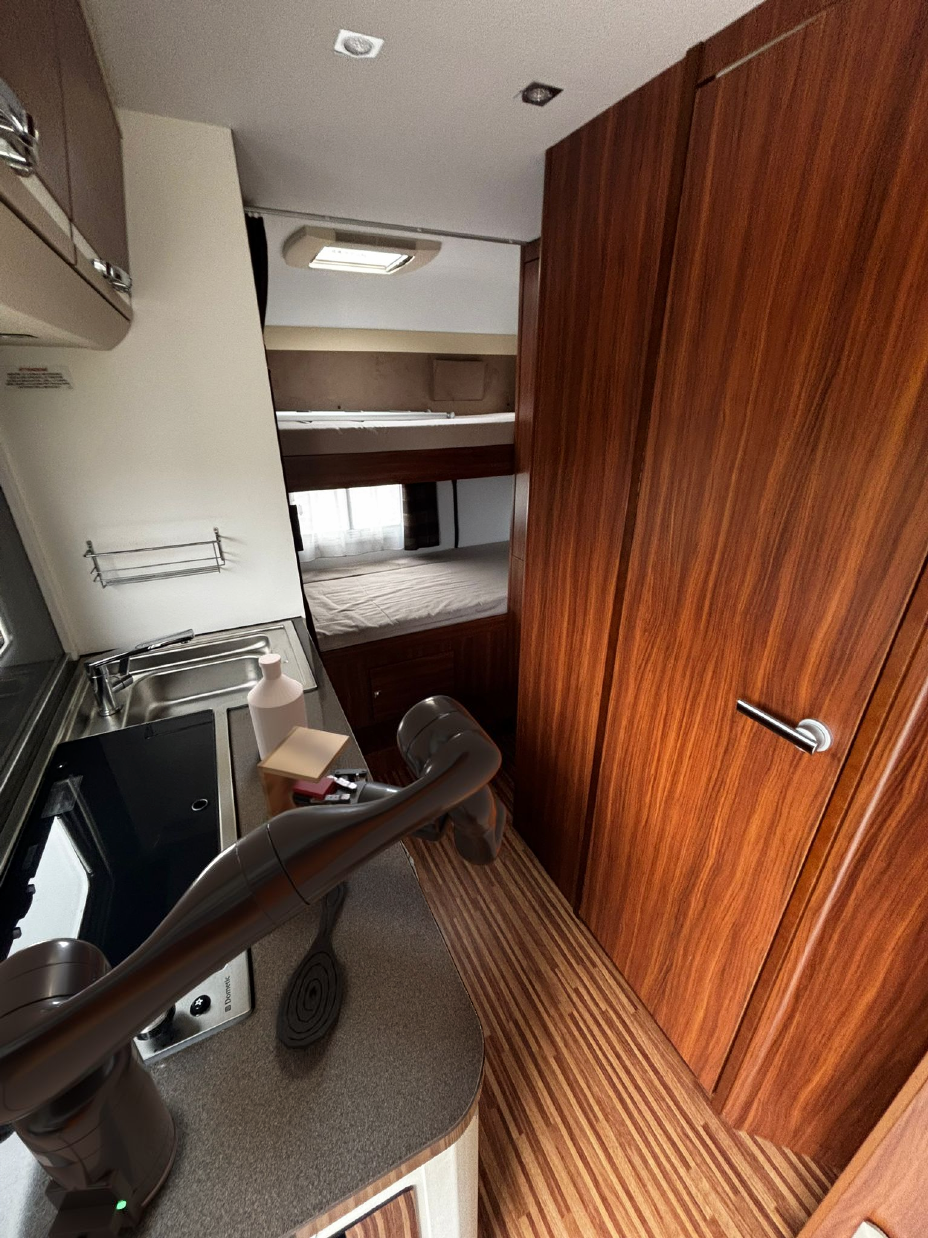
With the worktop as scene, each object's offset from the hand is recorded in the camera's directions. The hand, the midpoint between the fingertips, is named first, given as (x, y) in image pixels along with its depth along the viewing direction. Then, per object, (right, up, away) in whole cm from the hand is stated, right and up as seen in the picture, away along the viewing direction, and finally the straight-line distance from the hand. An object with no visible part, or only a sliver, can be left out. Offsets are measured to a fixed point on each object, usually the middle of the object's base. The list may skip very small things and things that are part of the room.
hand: (301, 788), depth 88 cm
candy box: (+3, -8, +3) cm, 8 cm away
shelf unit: (+2, -12, +5) cm, 13 cm away
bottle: (-13, -1, +29) cm, 32 cm away
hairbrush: (+8, -21, -14) cm, 27 cm away
